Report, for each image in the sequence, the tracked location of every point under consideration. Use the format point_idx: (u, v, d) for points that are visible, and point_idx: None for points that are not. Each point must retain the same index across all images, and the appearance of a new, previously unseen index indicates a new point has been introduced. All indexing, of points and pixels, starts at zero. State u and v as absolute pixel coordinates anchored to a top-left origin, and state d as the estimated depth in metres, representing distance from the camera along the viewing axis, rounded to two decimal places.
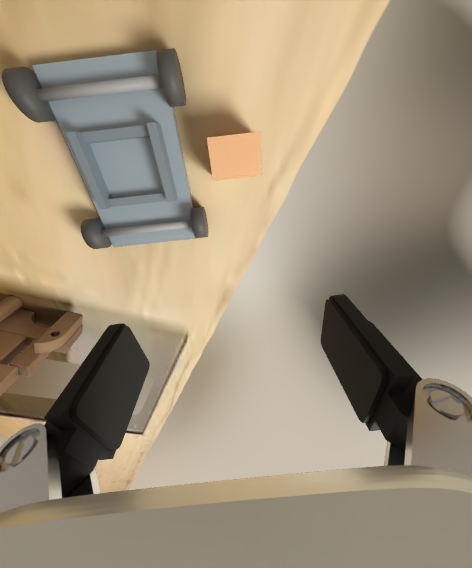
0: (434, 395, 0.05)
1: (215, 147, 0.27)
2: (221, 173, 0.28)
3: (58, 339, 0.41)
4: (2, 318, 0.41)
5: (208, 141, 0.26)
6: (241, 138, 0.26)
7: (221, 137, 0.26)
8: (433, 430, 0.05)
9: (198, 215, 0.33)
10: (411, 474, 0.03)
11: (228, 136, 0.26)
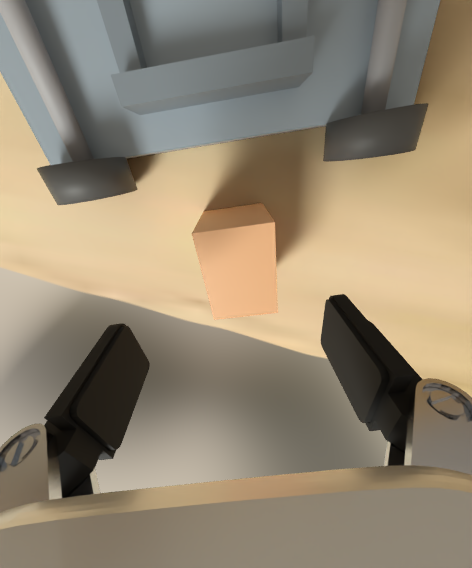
0: (434, 395, 0.05)
1: (255, 239, 0.12)
2: (209, 252, 0.13)
3: None
4: None
5: (267, 225, 0.12)
6: (269, 286, 0.14)
7: (273, 251, 0.13)
8: (433, 430, 0.05)
9: (103, 184, 0.12)
10: (411, 474, 0.03)
11: (274, 264, 0.13)
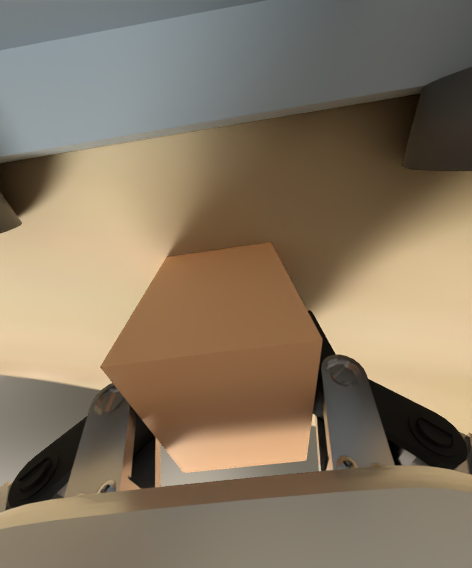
0: (334, 370, 0.06)
1: (270, 371, 0.05)
2: (155, 395, 0.05)
3: None
4: None
5: (303, 347, 0.04)
6: (293, 434, 0.07)
7: (309, 388, 0.05)
8: (323, 393, 0.05)
9: None
10: (411, 474, 0.03)
11: (308, 406, 0.06)
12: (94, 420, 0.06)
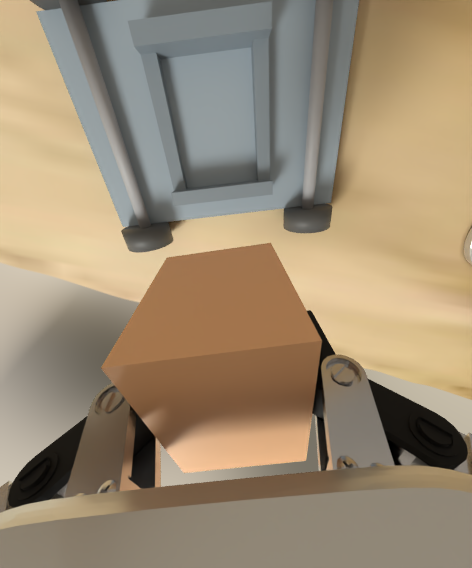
0: (334, 370, 0.06)
1: (269, 372, 0.05)
2: (155, 396, 0.05)
3: None
4: None
5: (302, 348, 0.04)
6: (293, 434, 0.07)
7: (309, 389, 0.05)
8: (323, 393, 0.06)
9: (159, 241, 0.21)
10: (411, 474, 0.03)
11: (308, 406, 0.06)
12: (94, 420, 0.06)
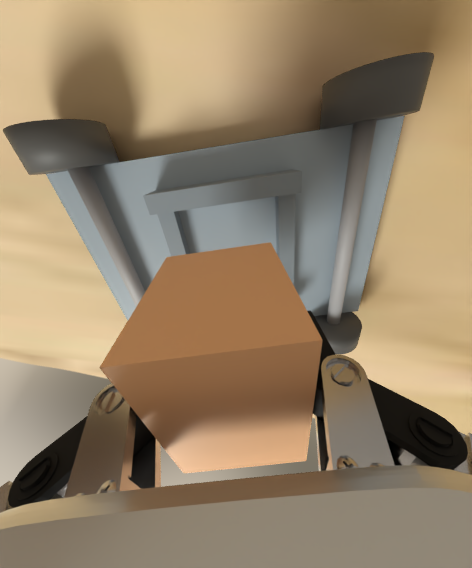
0: (334, 370, 0.06)
1: (269, 372, 0.05)
2: (154, 396, 0.05)
3: None
4: None
5: (302, 347, 0.04)
6: (293, 434, 0.07)
7: (309, 389, 0.05)
8: (323, 393, 0.06)
9: None
10: (411, 474, 0.03)
11: (308, 406, 0.06)
12: (94, 420, 0.06)
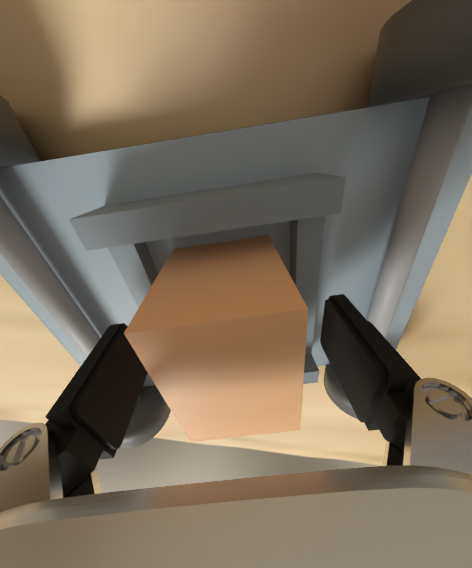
0: (432, 394, 0.05)
1: (265, 338, 0.06)
2: (168, 361, 0.06)
3: None
4: None
5: (292, 315, 0.05)
6: (287, 401, 0.08)
7: (299, 355, 0.06)
8: (432, 429, 0.05)
9: (151, 431, 0.15)
10: (411, 474, 0.03)
11: (299, 373, 0.07)
12: None
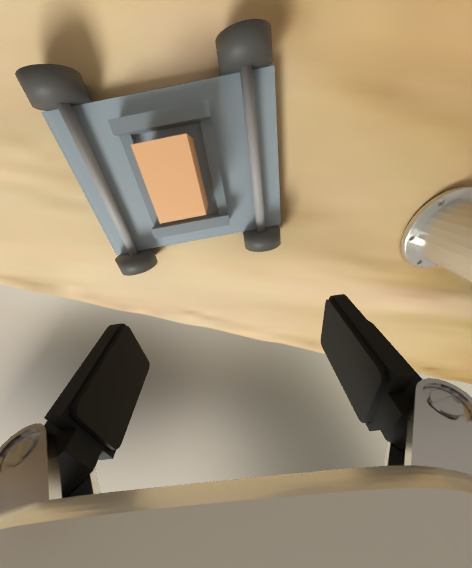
0: (434, 395, 0.05)
1: (176, 148, 0.18)
2: (145, 160, 0.18)
3: None
4: None
5: (182, 136, 0.18)
6: (194, 190, 0.20)
7: (190, 158, 0.19)
8: (433, 430, 0.05)
9: (145, 266, 0.27)
10: (411, 474, 0.03)
11: (193, 170, 0.19)
12: None
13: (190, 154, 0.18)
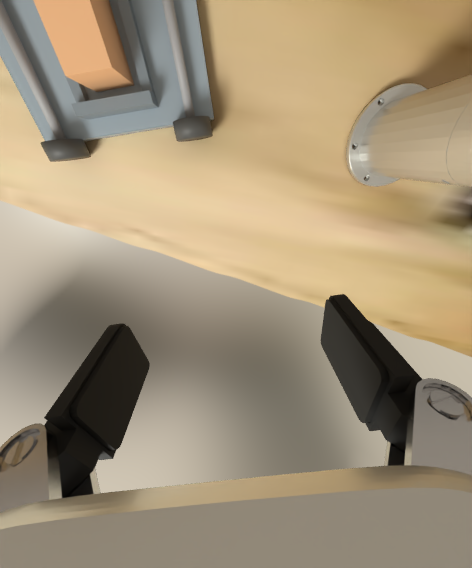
0: (434, 395, 0.05)
1: None
2: None
3: None
4: None
5: None
6: (94, 31, 0.19)
7: None
8: (433, 430, 0.05)
9: (71, 150, 0.27)
10: (411, 474, 0.03)
11: (89, 3, 0.18)
12: None
13: None
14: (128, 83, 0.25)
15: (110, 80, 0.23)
